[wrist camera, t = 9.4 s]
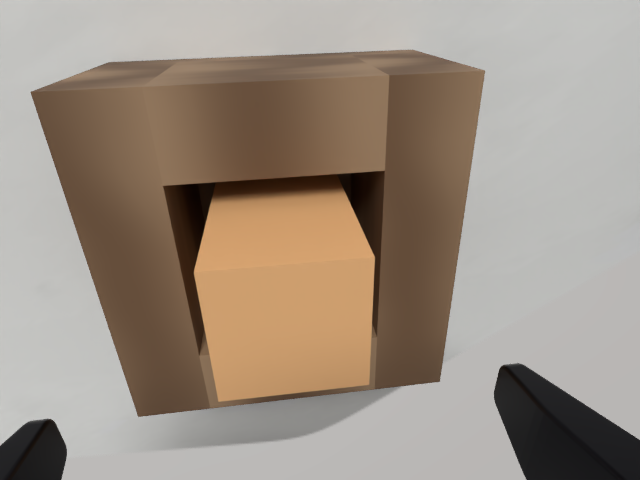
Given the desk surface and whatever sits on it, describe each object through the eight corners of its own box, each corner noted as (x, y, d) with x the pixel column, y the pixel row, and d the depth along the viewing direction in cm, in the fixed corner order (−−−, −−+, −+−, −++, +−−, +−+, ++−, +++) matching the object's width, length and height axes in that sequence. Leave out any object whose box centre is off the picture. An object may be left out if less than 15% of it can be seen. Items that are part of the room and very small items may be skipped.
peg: (326, 152, 17) (374, 257, 10) (328, 243, 19) (369, 385, 12) (221, 158, 16) (193, 272, 9) (234, 250, 18) (218, 402, 11)
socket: (412, 49, 16) (485, 70, 11) (395, 290, 22) (439, 381, 16) (108, 62, 15) (30, 91, 10) (169, 311, 21) (138, 416, 15)
